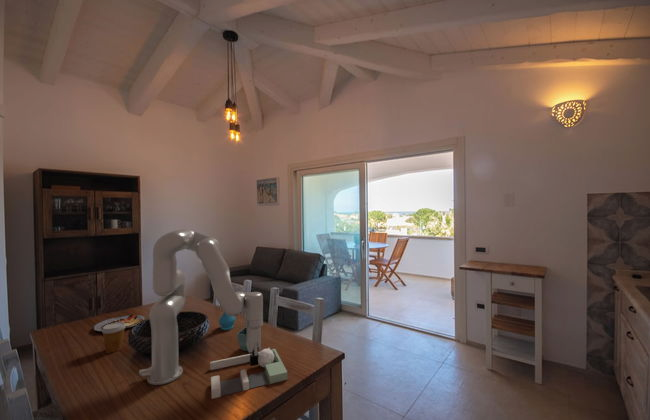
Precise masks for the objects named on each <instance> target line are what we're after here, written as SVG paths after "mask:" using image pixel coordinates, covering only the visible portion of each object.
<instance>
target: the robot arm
mask: <svg viewBox="0 0 650 420" xmlns="http://www.w3.org/2000/svg"><path fill="white" fill-rule="evenodd" d="M220 244H221V243H220V242H219V240H218V239H216V238H214V237H213V236H209V235H206V234H203V233H200V232H196V231H194V230H191V229H186V228H185V229H178V230H173V231H169V232H167V233H165V234H163V235H162V236H160V237H159V238H158V239H157V240H156V241H155V243H154V245H153V248H152V290H153V292H154V294H156V295H157V296H159V297H161V298H160V299H159V300H157V301H156V302H155V303H153V305H152V306H151V307H150V310H149V316H148V319H149V324H150V329H151V332H150V333H151V365H150V367H148V368H144V369H139V371H138V376H141V378H145V377H147V378H146V379H147V383H148V384H150V385H152V386H161V385H165V384H168V383H171V382H173V381H176V380H177V379H178V378H180V377H181V376H182V375H183V372H184V370H183V367H182V366H181V365H179V325H178V319H177V316H178V315H179V313H180V312H181V311H182V310H183V309H184V306H185V303H186V278H185V275H184V272H183V271H182V270H180V269H179V268H178V266H177V261H178V260H177V257H176V255H177V253H178V252H180V251H184V250H189V251H192V252H194V253H195V254H196V256H197V259H198V260H199V262H200V263H201V265H202V267H203V269H204V270H205V272H206V274H207V276H208V279H209V280H210V285H211V287H212V290H213V294H214V297H215V298H216V301H217V302H218V304H219V306H220V308H221V309H222V311H223V313H224V312H225V313H226V314H227V315H228V316H234V317H237V316H238V315H240V314H241V312H242V311H243V310H244V327H246V328H247V332H246V346H247V349H248V351H247V352H248V354H250V362H249V365H250V367H253V366H258V365H259V363H258V352H261V351H262V350H261V349H262V344H261V343H262V341H261V340H262V336H261V335H262V328H261V327H263V325H264V310H263V309H264V307H263V306H264V296H263V295H264V294H263V293H262V292H260V291H252V292H248V291H246V292H245V291H235V289H234V286H233V284H232V280H231V271H230V268H229V265H228V264H227V261H226V260H225V258H224V257H223V255H222V253H221V251H220V250H221V245H220ZM260 328H261V329H260Z"/></svg>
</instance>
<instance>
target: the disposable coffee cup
mask: <svg viewBox="0 0 650 420" xmlns="http://www.w3.org/2000/svg"><path fill="white" fill-rule="evenodd" d="M125 327H126V325H125V323H124V322H115V323H111V324H107V325H105V326H104V327H103V329H102V331H101V332H102V335H103V337H102V338H103V341H104V342H103V343H104V347H105V353H107V354H112V353H111V352H113V353H117V352H118V351H120V349H121V350H122V349H123V344H124V336H125V329H126V328H125ZM116 351H117V352H116Z"/></svg>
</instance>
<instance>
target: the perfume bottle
mask: <svg viewBox="0 0 650 420" xmlns="http://www.w3.org/2000/svg"><path fill="white" fill-rule="evenodd" d="M236 318H237V317H236V316H228V315H227V314H226V313H225V312H224V311H223V313H222V315H221V316H220V318H219V319H218V324H219V326H220V329H221V330H225V331H228V330H231V329H233V328H234V325H235V322H236Z"/></svg>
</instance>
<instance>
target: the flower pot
mask: <svg viewBox="0 0 650 420" xmlns="http://www.w3.org/2000/svg"><path fill="white" fill-rule="evenodd" d="M260 329H261V330H262V328H261V327H260ZM246 332H247V328H246V327H245V326H244V327H243V328H242V329H241V330H240V331H239V332H237V341H238V345H239V347H240V349H241V351H243V352H244V351H245V352H248V349H247V346H246Z"/></svg>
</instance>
